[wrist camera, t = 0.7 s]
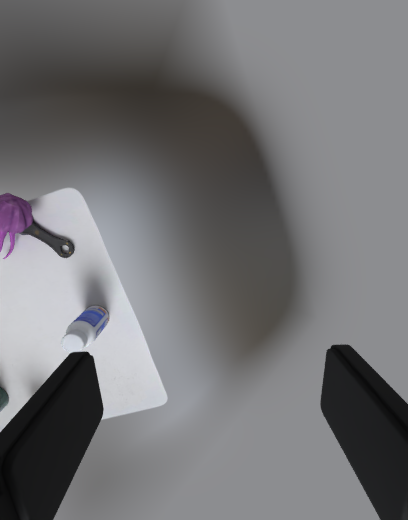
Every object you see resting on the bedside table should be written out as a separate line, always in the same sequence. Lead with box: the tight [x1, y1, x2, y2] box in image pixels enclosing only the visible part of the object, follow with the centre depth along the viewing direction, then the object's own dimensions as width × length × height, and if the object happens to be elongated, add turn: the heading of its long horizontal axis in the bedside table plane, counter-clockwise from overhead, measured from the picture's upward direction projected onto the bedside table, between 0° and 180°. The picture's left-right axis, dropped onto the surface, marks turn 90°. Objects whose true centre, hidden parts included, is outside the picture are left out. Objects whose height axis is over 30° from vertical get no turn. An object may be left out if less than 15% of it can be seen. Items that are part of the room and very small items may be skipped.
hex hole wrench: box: [20, 222, 74, 258], centre depth 43 cm, size 4×20×1 cm, turn 56°
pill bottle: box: [61, 306, 109, 353], centre depth 44 cm, size 5×5×10 cm
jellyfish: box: [0, 193, 33, 259], centre depth 40 cm, size 7×7×15 cm
